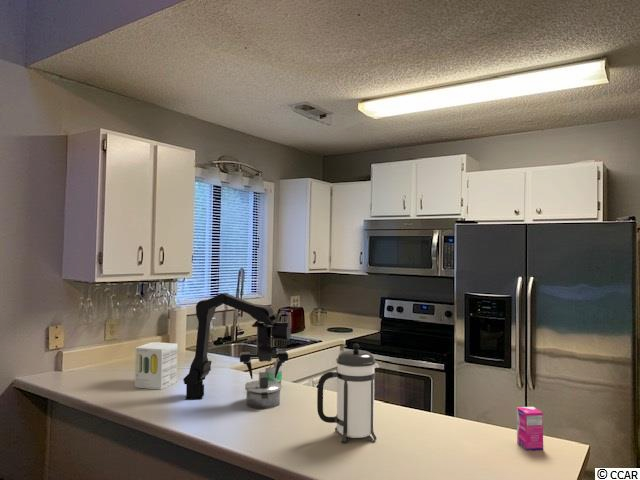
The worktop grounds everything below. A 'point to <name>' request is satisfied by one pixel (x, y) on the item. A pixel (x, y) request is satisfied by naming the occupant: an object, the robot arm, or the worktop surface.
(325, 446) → the worktop surface
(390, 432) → the worktop surface
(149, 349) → the supplement box
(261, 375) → the lid
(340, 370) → the coffee press
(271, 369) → the food container
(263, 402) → the pot
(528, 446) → the supplement box
